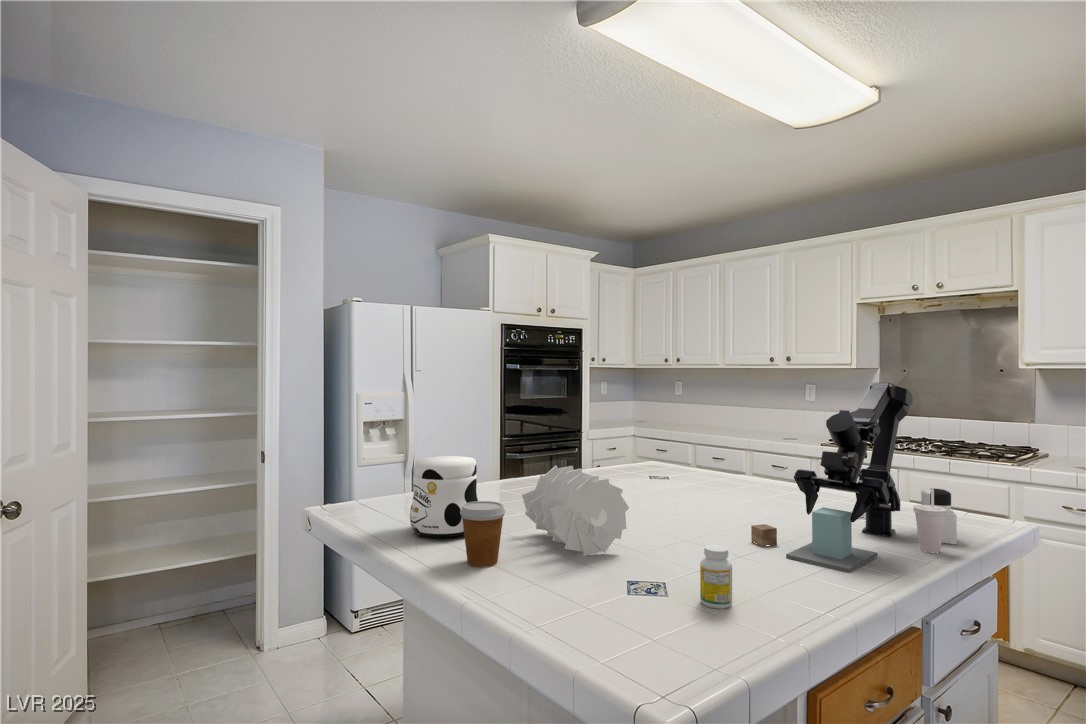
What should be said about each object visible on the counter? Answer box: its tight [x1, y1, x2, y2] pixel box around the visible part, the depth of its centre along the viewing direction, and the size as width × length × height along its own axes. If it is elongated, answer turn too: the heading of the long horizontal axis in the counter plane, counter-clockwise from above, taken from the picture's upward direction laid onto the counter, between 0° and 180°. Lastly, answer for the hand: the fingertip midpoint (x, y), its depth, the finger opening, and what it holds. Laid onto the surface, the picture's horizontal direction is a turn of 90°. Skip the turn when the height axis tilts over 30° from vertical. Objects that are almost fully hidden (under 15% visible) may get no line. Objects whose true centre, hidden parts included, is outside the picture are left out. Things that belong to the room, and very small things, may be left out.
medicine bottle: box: [916, 487, 958, 545], centre depth 145 cm, size 7×7×12 cm
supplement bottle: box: [699, 544, 733, 610], centre depth 104 cm, size 5×5×10 cm
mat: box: [785, 542, 878, 573], centre depth 131 cm, size 16×13×1 cm
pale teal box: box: [811, 507, 853, 559], centre depth 131 cm, size 6×6×9 cm
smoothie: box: [912, 489, 947, 554], centre depth 135 cm, size 6×6×14 cm
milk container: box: [409, 455, 479, 538], centre depth 150 cm, size 17×17×18 cm
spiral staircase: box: [521, 464, 630, 557], centre depth 140 cm, size 18×18×25 cm
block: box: [750, 523, 778, 547], centre depth 141 cm, size 4×4×4 cm
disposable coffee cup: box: [460, 500, 506, 568], centre depth 126 cm, size 10×10×12 cm
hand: (829, 517), depth 130 cm, fingers open, 9 cm apart
